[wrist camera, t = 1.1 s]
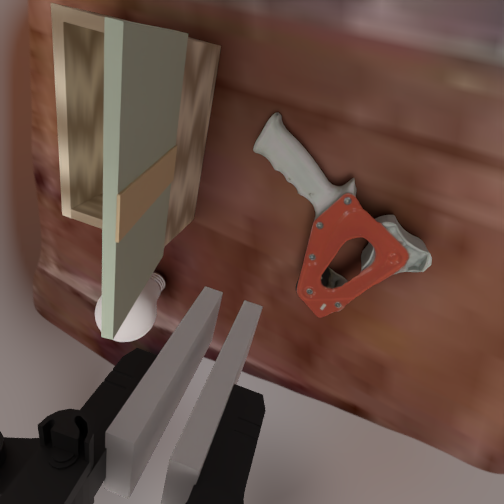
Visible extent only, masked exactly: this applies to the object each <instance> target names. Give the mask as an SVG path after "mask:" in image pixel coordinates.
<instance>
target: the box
mask: <svg viewBox="0 0 504 504" xmlns="http://www.w3.org/2000/svg"><path fill="white" fill-rule="evenodd" d="M51 17H52V36H53V54H54V72H55V90H56V108H57V127H58V145H59V163H60V181H61V199H62V215H64V216H67V217H70V218H72V219H75V220H78V221H81V222H84V223H87V224H90V225H93V226H96V227H99V228H101V229H102V224H103V123H104V22H105V17H110V18H115V19H120V18H116V17H113V16H108V15H104V14H99V13H95V12H90V11H86V10H81V9H77V8H72V7H68V6H63V5H59V4H54V3H51ZM120 20H124V19H120ZM125 21H127V20H125ZM130 22H131V21H130ZM220 50H221V46H220V45H216V44H212V43H209V42H205V41H201V40H198V39H194V38H190V37H188V42H187V51H186V59H185V68H184V77H183V85H182V94H181V103H180V111H179V120H178V129H177V138H176V145H177V154H176V162H175V171H174V179H173V181H172V182H171V190H170V199H169V207H168V216H167V225H166V233H165V242H164V247H165V246H166V245H167V244H168V243H169V242H170V241H171V240H172V239H173V238H174V237H175V236H176V235H178V234H179V233H180V232H181V231H182V230H183V229H184V228H185V227H186V226H187V225H188V224H189V223H190V222H191V221H193V220H194V215H195V209H196V202H197V196H198V190H199V183H200V177H201V171H202V164H203V158H204V152H205V145H206V139H207V133H208V126H209V120H210V114H211V107H212V101H213V95H214V88H215V82H216V76H217V69H218V63H219V57H220Z"/></svg>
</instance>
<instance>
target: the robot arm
mask: <svg viewBox="0 0 504 504" xmlns="http://www.w3.org/2000/svg"><path fill="white" fill-rule="evenodd" d="M222 294H223V292H220V291H217V290H214V289H211V288H209V287H206V286H205V287H204V289H203V290H202V292H201V293H200V295H199V296H198V298H197V299H196V301H195V302H194V304H193V305H192V306H191V308H190V309H189V311H188V312H187V314H186V315H185V317H184V318H183V320H182V321H181V322H180V324H179V325H178V327H177V328H176V330H175V331H174V333H173V334H172V336H171V337H170V339H169V340H168V341H167V343H166V344H165V346H164V347H163V349H162V350H161V352H160V353H159V355H158V356H157V355H155V354H152V353H150V352H147V351H144V350H142V349H139V348H136V349H135V350H133V351H131V352H130V353H128V354H126V355H125V356H123V357H122V358H121V360H120V361H119V362H118V363H117V365H116V366H115V367H114V368H113V371H111V372H110V373H109V375H108V376H107V377H106V378H105V381H104V382H102V383H101V385H100V386H99V387H98V388H97V390H96V391H95V392H94V393H93V395H92V396H91V397H90V398H89V400H88V401H87V402H86V403H85V405H84V406H83V407H82V408H81V409H80V410H74V409H67V410H61V411H58V412H55V413H53V414H51V415H49V416H47V417H46V418H45V419H44V420H43V421H42V422H41V423H39V424H38V431H39V438H32V439H29V438H5V437H3V435H2V433H1V432H0V504H93V503H94V496H95V495H96V493H97V491H98V490H99V488H100V486H101V485H102V483H103V481H104V489H106V490H109V491H111V492H113V493H116V494H118V495H120V496H123V497H125V498H127V499H129V498H130V496H131V494H132V492H133V490H134V488H135V486H136V484H137V482H138V480H139V479H140V476H141V475H142V473H143V471H144V469H145V467H146V465H147V463H148V461H149V460H150V458H151V456H152V454H153V452H154V450H155V448H156V446H157V444H158V442H159V440H160V438H161V437H162V435H163V433H164V431H165V429H166V427H167V425H168V423H169V421H170V419H171V418H172V416H173V414H174V412H175V409H176V408H177V406H178V404H179V402H180V400H181V398H182V397H183V395H184V393H185V391H186V389H187V387H188V385H189V383H190V381H191V379H192V377H193V376H194V374H195V372H196V370H197V368H198V366H199V364H200V362H201V360H202V358H203V356H204V355H205V353H206V351H207V349H208V347H209V345H210V343H211V341H212V337H213V333H214V328H215V324H216V320H217V316H218V311H219V307H220V303H221V298H222ZM261 310H262V306H260V305H257V304H254V303H251V302H248V301H245V300H244V303H243V305H242V307H241V309H240V311H239V313H238V315H237V317H236V320H235V322H234V324H233V326H232V328H231V330H230V332H229V334H228V336H227V339H226V341H225V343H224V345H223V347H222V349H221V351H220V353H219V355H218V358H217V360H216V362H215V364H214V366H213V368H212V370H211V372H210V375H209V377H208V379H207V381H206V383H205V385H204V387H203V389H202V391H201V394H200V396H199V398H198V400H197V402H196V404H195V407H194V408H193V410H192V413H191V415H190V417H189V419H188V421H187V423H186V425H185V428H184V430H183V432H182V434H181V436H180V438H179V440H178V442H177V444H176V446H175V449H174V451H173V453H172V455H171V457H170V460H169V465H168V470H167V475H166V480H165V486H164V491H163V496H162V501H161V504H244V501H243V498H244V492H245V487H246V483H247V479H248V475H249V472H250V468H251V464H252V460H253V456H254V452H255V448H256V445H257V440H258V437H259V433H260V429H261V425H262V421H263V417H264V414H265V405H264V400H263V395H262V394H259V393H256V392H254V391H251V390H249V389H246V388H243V387H240V386H238V385H236V384H237V382H238V379H239V376H240V374H241V371H242V368H243V366H244V363H245V360H246V358H247V355H248V352H249V349H250V345H251V342H252V339H253V336H254V333H255V330H256V326H257V323H258V320H259V317H260V314H261Z"/></svg>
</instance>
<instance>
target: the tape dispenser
mask: <svg viewBox="0 0 504 504" xmlns="http://www.w3.org/2000/svg"><path fill="white" fill-rule="evenodd" d="M253 150H254V152H255V153H259V154H261V155H263V156H264V157H266V158H267V159H268V160H269V161H270V163H271V164H272V166H273V168H274V169H275V170H277V171H280V172H281V173H282V174H283V175H284V176H285V178H286V180H287V182H289V183H292V184H293V185H294V186H295V187H296V189H297V191H298V193H299V194H300V195H302V196H304V197H306V198H307V199H308V200H309V201H310V202H311V203H312V205H313V206H314V209H315V213H316V215H315V220H314V222H313V226H312V229H311V234H310V238H309V242H308V246H307V250H306V254H305V257H304V262H303V266H302V270H301V273H300V276H299V279H298V281H297V284H296V292H297V295H298V296H299V298H300V299H301V300H302V301H303V302H304V303H306V304H307V306H308V307H309V308H310V309H311V310H312V311H313V312H314V314H315V315H316V316H317V317H319V318H321V317H324V316H326V315H328V314H331V313H332V312H334V311H336V312H338V311H341V310H342V309H343V308H344V307H345V305H346V304H348V303H349V302H350V301H351V300H353V299H354V298H355V297H357V296H359V295H360V294H361V293H363V292H364V291H366V290H367V289H369V288H370V287H371V286H373V285H375V284H378V283H380V282H381V281H383V280H385V279H386V278H388V277H390V276H392V275H394V274H396V273H399V272H421V271H422V272H424V271H425V270H426V269H427V268H428V267H429V266H431V262H432V257H431V254H430V253H429V252H428V250H427V248H426V246H425V244H424V242H423V241H422V240H421V239H420V238H418V237H415V236H413V235H411V234H409V233H408V232H407V231H406V230H404V229H403V228H402V226H401V225H400V224H399V222H398V221H397V219H396V217H395V216H394V215H384V216H380V217H378V218H376V219H374V218H372V217H371V216H370V215H369V214H368V213H367V212H366V211H365V210H363V208H362V207H361V205H360V203H359V201H358V200H357V198H356V191H357V189H356V186H355V180H354V178H352V179H351V180H350V181H349V182H347V183H346V184H345V185H343V186H336V185H333V184H331V183H330V182H329V181H328V180H327V178H326V177H325V175H324V173H323V172H322V171H321V169H320V168H319V166H318V165H317V163H316V162H315V160H314V159H313V158H312V156H311V155H310V154H309V153H308V151H307V150H306V149H305V148H304V147H303V146H302V144H301V143H300V142H299V141H298V140H297V139H296V138H295V137H294V136H293V135H292V134H291V133H290V132H289V131H288V130H287V129H286V128H285V126H284V125H283V122H282V117H281V114H280V113H279V112H278V113H275V114H273V115H272V116H271V117H270V119H269V120H268V121H267V123H266V125H265V126H264V128H263V130H262V132H261V133H260V135H259V137H258V138H257V140H256V142H255V144H254V148H253ZM358 237H363V238H365V239H367V240H368V241H369V243H368V245H367V246H366V247H365V249H364V250H363V251H362V254H361V263H362V269H361V272H360V274H359V275H357V276H356V277H354V278H353V279H351V280H350V282H348V281H347V280H346V279H345V278H344V277H343V276H341V275H339V274H337V273H335V272H334V271H333V270H332V269H331V268H329V267H328V265H329V264H330V262H331V261H332V259H333V258H334V257H335V255H336V254H337V252H338V250H339V249H340V248H341V246H342V245H343V244H344V243H345V242H346V241H347V240H350V239H353V238H358Z"/></svg>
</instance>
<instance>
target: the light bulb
mask: <svg viewBox="0 0 504 504" xmlns="http://www.w3.org/2000/svg"><path fill="white" fill-rule="evenodd" d="M165 286H166V280H165V278H164V276H163V275H162V274H160V273H158V272H153V273H152V275H151V277H150V278H149V280H148V282H147V283H146V285H145V287H144V288H143V290H142V292H141V293H140V295H139V297H138V298H137V300H136V302H135V303H134V305H133V307H132V308H131V310H130V312H129V313H128V315H127V317H126V318H125V320H124V322H123V323H122V325H121V327H120V328H119V330H118V332H117V334H116V335H115V337H114V339H113V340H115V341H118V342H130V341H133V340H137V339H139V338H141V337H142V336H144V335H145V334H146V333H147V332H148V331H149V330H150V329H151V328H152V326H153V324H154V322H155V319H156V315H157V300H158V298H159V296H160V293H161V292H162V291H163V289H165ZM95 319H96V323H97V326H98V327H99V329H100V331H101V325H102V296H101V297H100V298H99V300H98V302H97V305H96V309H95Z"/></svg>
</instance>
